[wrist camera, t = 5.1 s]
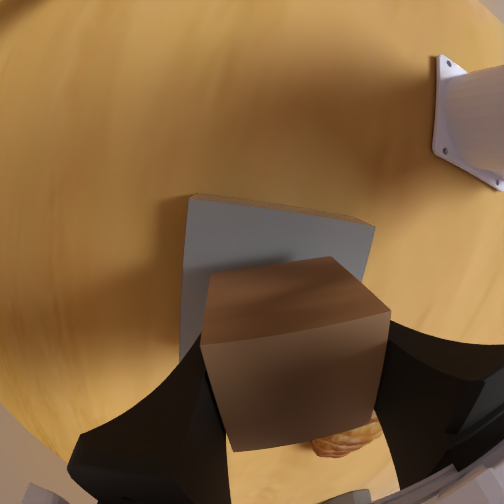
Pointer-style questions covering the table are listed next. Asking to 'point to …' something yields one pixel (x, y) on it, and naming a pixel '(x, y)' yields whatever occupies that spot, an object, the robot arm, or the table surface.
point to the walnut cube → (292, 351)
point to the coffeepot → (352, 498)
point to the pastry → (348, 440)
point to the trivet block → (258, 246)
